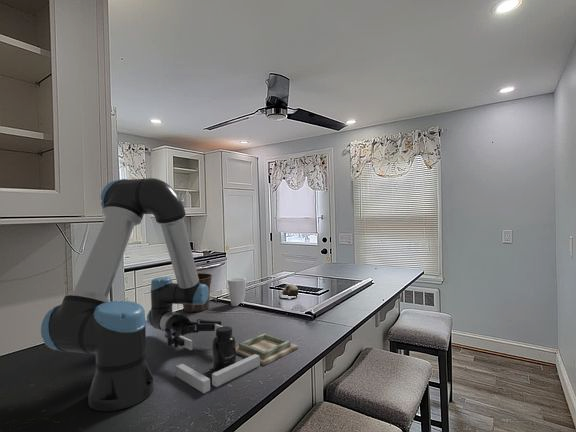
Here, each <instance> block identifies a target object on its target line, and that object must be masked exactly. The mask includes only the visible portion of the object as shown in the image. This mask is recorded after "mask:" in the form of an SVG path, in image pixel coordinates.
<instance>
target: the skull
mask: <svg viewBox="0 0 576 432" xmlns="http://www.w3.org/2000/svg"><path fill="white" fill-rule="evenodd" d="M299 291H300V290H299V288H298V287H297V285H296V284H294V283H287V284H286V285H285V286H284V288H283V289H282V290H281V293H280V295H281V294H283V295H288V296H297V295H299Z"/></svg>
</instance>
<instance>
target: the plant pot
mask: <svg viewBox="0 0 576 432" xmlns="http://www.w3.org/2000/svg"><path fill="white" fill-rule="evenodd" d="M197 274H198V278H199V282H200V284H205V285H207V287H208V289H209V297H208V300H207V301H206V303H205V304H203V305H190V304H182V307H183V309H182V310H183V312H186V313H193V312H196V313H200V312H203V311H206V310H208V309H209V308H210V293H211V292H210V291H211V283H212V278H213V275H212V274H211V273H198V272H197Z"/></svg>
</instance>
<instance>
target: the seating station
mask: <svg viewBox="0 0 576 432" xmlns="http://www.w3.org/2000/svg"><path fill="white" fill-rule="evenodd" d="M297 349H299V345H298V344H295V343H292V342H291V341H289V340H288V339H285V338H281V337H278V336H275V335H273V334H269V333H261V334H260V335H257V336H254V337H252V338H250V339H247V340H244V341H242V342H240V343H239V344H238V345H237V346H236V354H238V356H239V355H240V356H241V357H244V358H248V357H250V356H252V355H254V354H256V355H259V356H260V364H261V365H263V366H266V365H269V364H270V363H272V362H273V361H276V360H278V359H279V358H282V357H284V356H286V355H288V354H290V353H291V352H294V351H296V350H297Z"/></svg>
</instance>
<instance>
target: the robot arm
mask: <svg viewBox="0 0 576 432" xmlns="http://www.w3.org/2000/svg"><path fill="white" fill-rule="evenodd" d="M100 193H101V194H100V205H101V208H102V213H103V215H104V216H105V218H104V220H103V223H102V225H101V228H100V230H99V232H98V234H97V236H96V238H95V241H94V244H93V245H92V249H91V251H90V252H89V256H88V257H87V259H86V263H85V265H84V266H83V269H82V271H81V274H80V276H79V278H78V280H77V282H76V285H75V288H74V290H73V291H71V292H69V293H67V294H65V295H64V298H63V300H62V302H61V304H59V305H56V306H54V307H53V308H52V309H49V310H48V312H46V314H45V315H44V317H43V319H42V322H41V326H40V334H41V335H40V336H41V338H42V340H43V344H44V345H46V346H47V347H48V348H49V349H50V350H52V351H53V350H54V351H59V352H63V353H76V354H77V353H78V354H79V353H80V354H88V355H89V354H91V355H95V372H94V376H93V378H92V382H91V385H90V388H89V390H88V391H89V392H88V395H87V397H88V399H87V400H88V406H89V408H91V409H92V410H95V411H98V412H115V411H120V410H123V409H124V410H125V409H127V408H130V407H134V406H135V405H137V404H140V403H141V402H143V401H144V400H146V399H147V398H149V397H150V396H151V394H152V393H153V391H154V388H155V381H154V376H153V374H152V372H151V368H150V366H149V364H148V361H147V345H146V344H147V339H146V338H147V334H146V333H147V332H146V329H147V327H146V326H147V323H148V325H150V326H151V327H153V329H156V330H160V331H162V332H164V337H165V338H166V340H167V346H168V347H171V346H173V345H174V346H173V347H174V348H178V347H179V346H180V347H182V348H185V349H187V350H189V351H192V350H193V349H194V347H193V341H194V340H192V339H190V338H187V337H186V335H189V334H192V333H197V334H198V333H199V332H214V333H215V334H216V329H217V328H219V327H223V325H222V321H219V320H209V319H201V318H198V319H196V321H191V319H189V317H188V316H186V315H183V314H181V313H178V312H175V311H173V304H174V305H183V304H190V305H203V304H205V303H206V301H207V300H208V297H209V298H210V295H209V289H208V287H207V285H205V284H200V282H199V278H198V274H197V273H198V270H197V266H196V264H195V263H196V262H195V259H194V255H193V251H192V247H191V243H190V238H189V234H188V232H187V231H188V230H187V227H186V223H185V218H186V216H187V213H186V210H185V207H184V204H183V202H182V200H181V197H180V196H179V195H178V194H177V192H176V190H175V189H174V188H173V187H172V186H171V185H169V184H168V183H167V182H165V181H164V180H162V179H158V178H152V177H151V178H150V177H149V178H136V179H134V178H133V179H129V178H121V179H117V180H113V181H110V182H109V183H107V184H106V185H105V186H104V187H103V189H102V191H101V192H100ZM144 215H153V216H154V219H155V222H156V223H157V224H158V225H160V227H161V231H162V234H163V238H164V240H165V244H166V248H167V251H168V255H169V258H170V262H171V266H172V268H173V272H174V275H175V279H176V282H173V278H172V277H170V276H159V277H155V278H153V279H152V280H151V281H150V282H151V283H150V285H151V286H150V305H151V308H150V310H149V311H148V313H147V315H146V314H145V309H144V307H143V306H142V305H141V304H140V303H138V302H135V301H130V300H120V301H117V300H111V301H109V299H108V296H109V293H110V291H111V289H112V285H113V284H114V280H115V278H116V275H117V273H118V269H119V267H120V264H121V261H122V259H123V256H124V254H125V252H126V249H127V246H128V243H129V241H130V237H132V232H133V231H134V227H135V226H137V225H140V224H141V223H142V221H143V217H144Z"/></svg>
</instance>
